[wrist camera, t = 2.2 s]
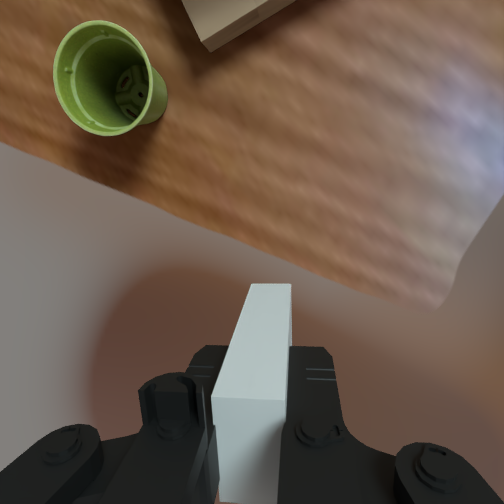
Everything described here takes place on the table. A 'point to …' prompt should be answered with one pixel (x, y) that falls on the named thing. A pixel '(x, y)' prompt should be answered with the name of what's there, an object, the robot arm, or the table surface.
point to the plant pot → (106, 79)
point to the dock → (228, 18)
